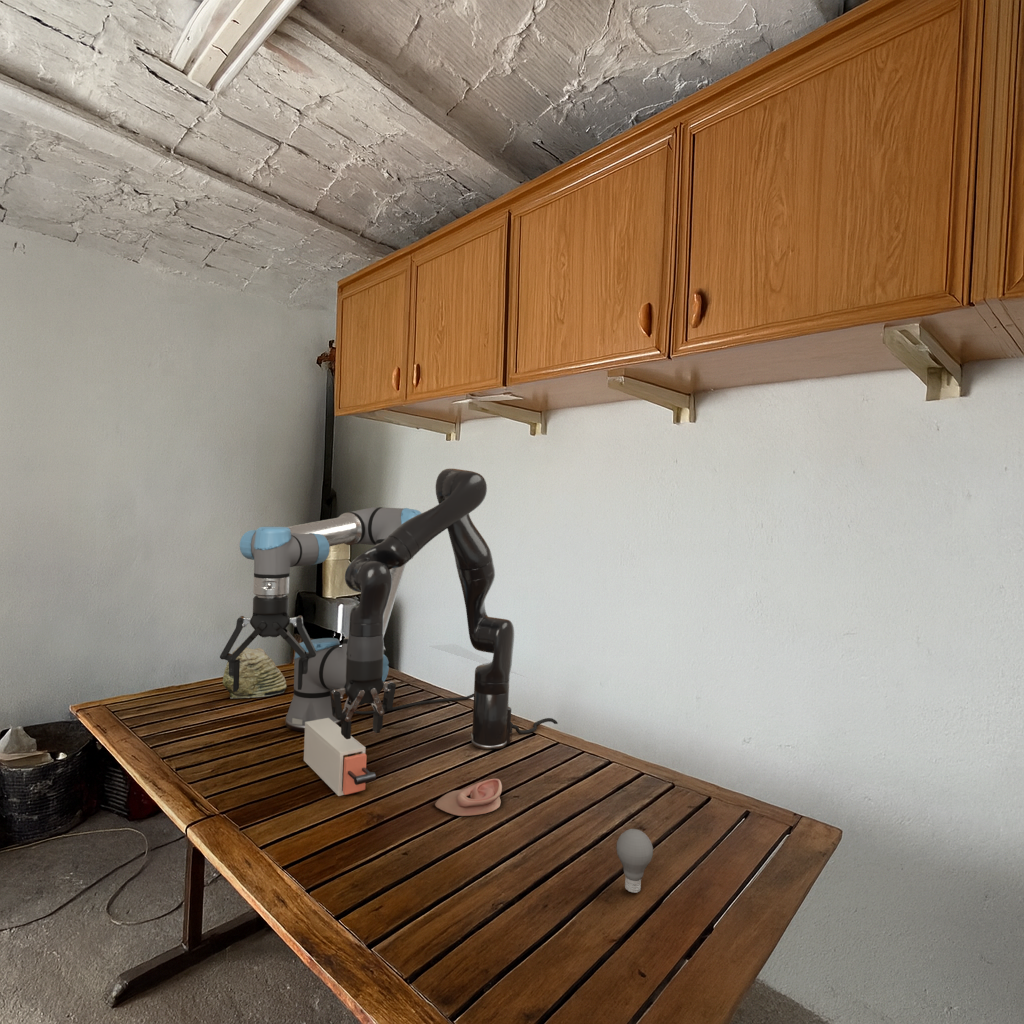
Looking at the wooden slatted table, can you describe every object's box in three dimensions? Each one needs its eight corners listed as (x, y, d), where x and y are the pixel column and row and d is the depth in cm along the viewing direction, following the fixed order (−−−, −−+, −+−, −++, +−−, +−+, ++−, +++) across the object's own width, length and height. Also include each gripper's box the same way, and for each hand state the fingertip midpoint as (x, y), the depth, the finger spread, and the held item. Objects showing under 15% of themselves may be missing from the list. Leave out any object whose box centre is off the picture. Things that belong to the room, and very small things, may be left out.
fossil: (218, 695, 195) (220, 647, 195) (278, 685, 208) (279, 640, 207) (228, 703, 189) (230, 653, 188) (289, 692, 201) (290, 645, 201)
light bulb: (610, 879, 108) (613, 822, 108) (644, 879, 109) (647, 822, 109) (619, 902, 102) (622, 840, 102) (655, 901, 103) (658, 840, 103)
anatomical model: (430, 792, 129) (447, 769, 140) (429, 811, 129) (446, 787, 140) (494, 801, 126) (506, 777, 137) (493, 821, 126) (505, 795, 138)
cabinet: (364, 789, 138) (365, 747, 138) (338, 796, 134) (340, 752, 134) (327, 755, 155) (328, 717, 155) (303, 760, 151) (305, 721, 151)
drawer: (376, 799, 132) (377, 763, 132) (355, 805, 129) (356, 768, 129) (329, 756, 152) (330, 725, 152) (310, 760, 149) (311, 728, 149)
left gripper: (207, 598, 136) (204, 696, 136) (328, 598, 142) (324, 692, 142) (214, 592, 143) (212, 685, 144) (329, 592, 149) (326, 682, 150)
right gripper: (339, 663, 125) (335, 748, 125) (404, 655, 134) (401, 734, 134) (324, 655, 131) (321, 735, 131) (388, 647, 140) (385, 723, 140)
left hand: (268, 689), depth 143 cm, fingers open, 13 cm apart
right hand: (362, 734), depth 133 cm, fingers open, 6 cm apart
